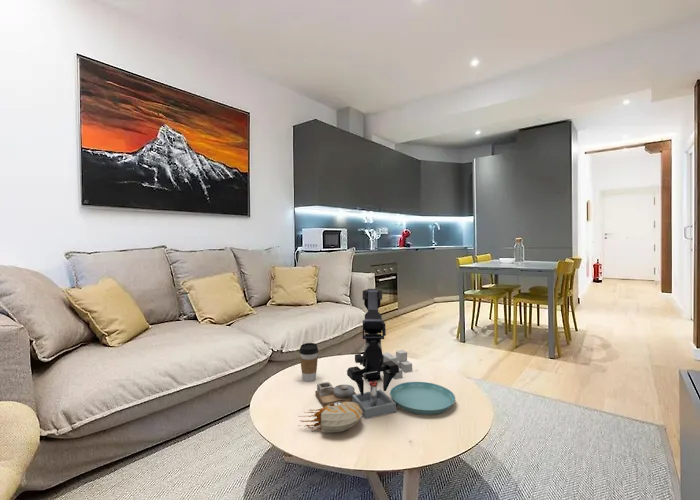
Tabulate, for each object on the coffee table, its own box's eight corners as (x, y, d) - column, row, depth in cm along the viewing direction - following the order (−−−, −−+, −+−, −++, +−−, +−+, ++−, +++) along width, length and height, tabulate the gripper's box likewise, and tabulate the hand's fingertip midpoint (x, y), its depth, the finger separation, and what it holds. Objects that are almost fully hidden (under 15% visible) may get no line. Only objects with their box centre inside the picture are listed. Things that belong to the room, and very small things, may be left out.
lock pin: (375, 402, 135) (375, 380, 134) (378, 406, 132) (378, 383, 131) (368, 404, 133) (367, 381, 133) (371, 408, 131) (371, 384, 130)
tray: (380, 397, 140) (380, 389, 140) (395, 412, 129) (395, 403, 129) (352, 403, 136) (352, 394, 136) (365, 418, 125) (365, 409, 125)
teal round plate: (466, 401, 138) (466, 393, 138) (434, 427, 120) (434, 417, 120) (412, 383, 154) (412, 376, 154) (377, 403, 136) (377, 395, 136)
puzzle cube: (395, 379, 158) (395, 362, 157) (381, 370, 169) (381, 353, 168) (417, 374, 163) (417, 357, 163) (402, 365, 174) (402, 349, 173)
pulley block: (348, 389, 148) (348, 377, 148) (358, 401, 138) (358, 388, 137) (315, 395, 143) (315, 383, 142) (323, 408, 132) (323, 395, 132)
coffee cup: (320, 375, 162) (320, 342, 162) (316, 383, 154) (316, 349, 153) (302, 375, 163) (301, 342, 162) (297, 382, 155) (297, 348, 154)
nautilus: (295, 441, 113) (302, 418, 128) (363, 437, 112) (363, 415, 127) (293, 416, 113) (301, 396, 128) (361, 412, 112) (361, 393, 127)
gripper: (385, 341, 142) (385, 380, 143) (341, 347, 136) (341, 388, 136) (399, 350, 132) (399, 392, 133) (352, 357, 125) (353, 401, 126)
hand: (373, 393), depth 132 cm, fingers open, 9 cm apart
